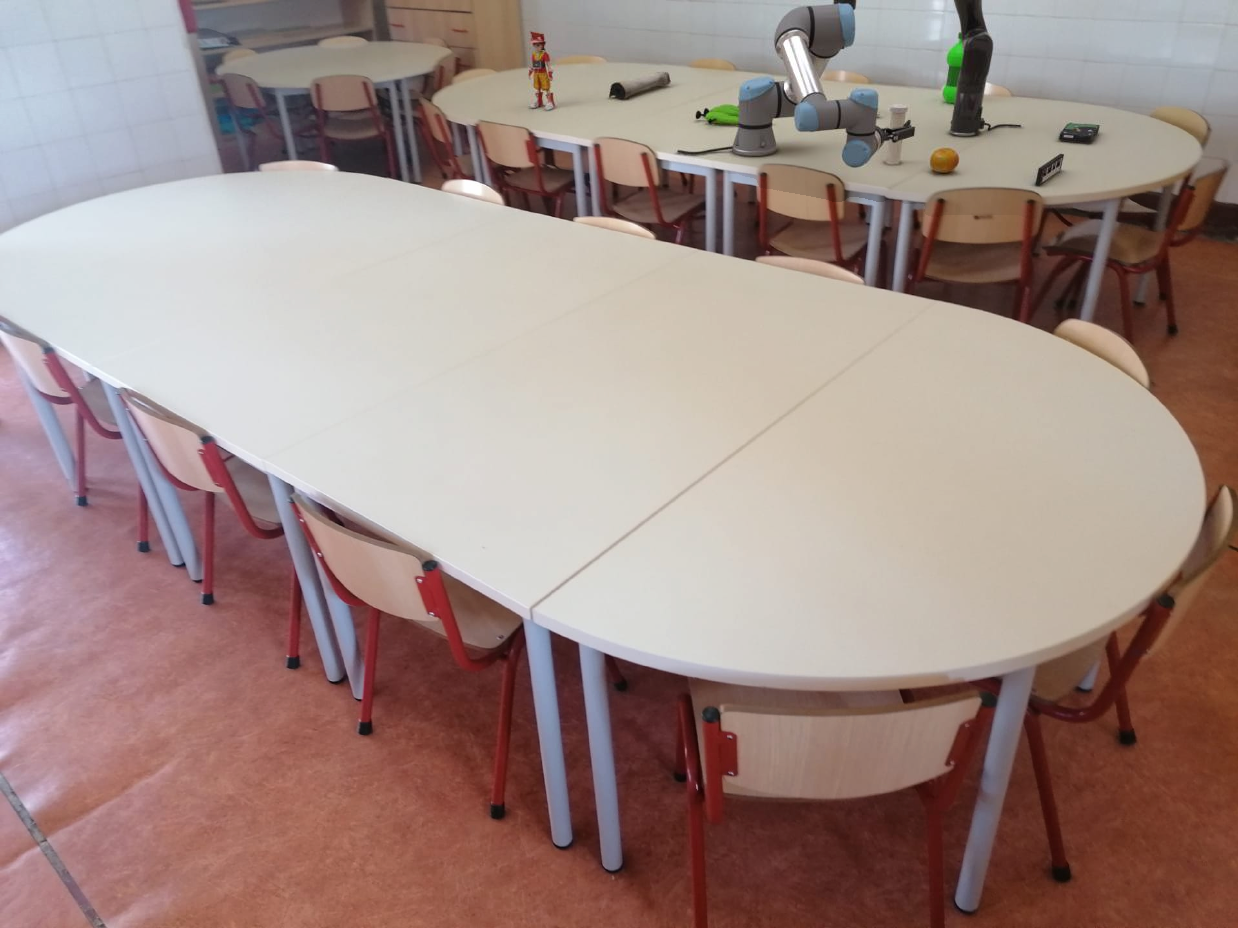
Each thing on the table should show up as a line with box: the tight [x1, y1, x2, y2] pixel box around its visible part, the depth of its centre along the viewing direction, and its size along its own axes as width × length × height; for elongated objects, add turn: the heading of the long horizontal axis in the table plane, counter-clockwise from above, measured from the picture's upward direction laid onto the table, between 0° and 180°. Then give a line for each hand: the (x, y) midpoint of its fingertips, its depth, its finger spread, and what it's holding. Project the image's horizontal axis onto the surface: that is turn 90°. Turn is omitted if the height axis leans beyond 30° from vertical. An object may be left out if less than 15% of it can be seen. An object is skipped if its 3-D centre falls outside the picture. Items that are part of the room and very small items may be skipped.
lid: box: [889, 103, 909, 113], centre depth 286 cm, size 5×5×2 cm
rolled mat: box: [608, 71, 672, 101], centre depth 395 cm, size 30×9×10 cm
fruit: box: [929, 147, 960, 174], centre depth 283 cm, size 8×8×8 cm
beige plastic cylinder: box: [885, 111, 907, 166], centre depth 290 cm, size 4×4×17 cm
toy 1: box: [527, 31, 556, 111], centre depth 374 cm, size 12×9×30 cm
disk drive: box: [1058, 122, 1101, 144], centre depth 307 cm, size 10×3×15 cm
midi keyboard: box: [1035, 153, 1065, 186], centre depth 273 cm, size 18×1×5 cm, turn 138°
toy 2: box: [695, 103, 739, 125], centre depth 347 cm, size 28×5×30 cm
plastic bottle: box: [942, 31, 963, 104], centre depth 348 cm, size 10×10×25 cm
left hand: (886, 123), depth 272 cm, fingers open, 13 cm apart
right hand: (841, 46), depth 311 cm, fingers open, 8 cm apart
